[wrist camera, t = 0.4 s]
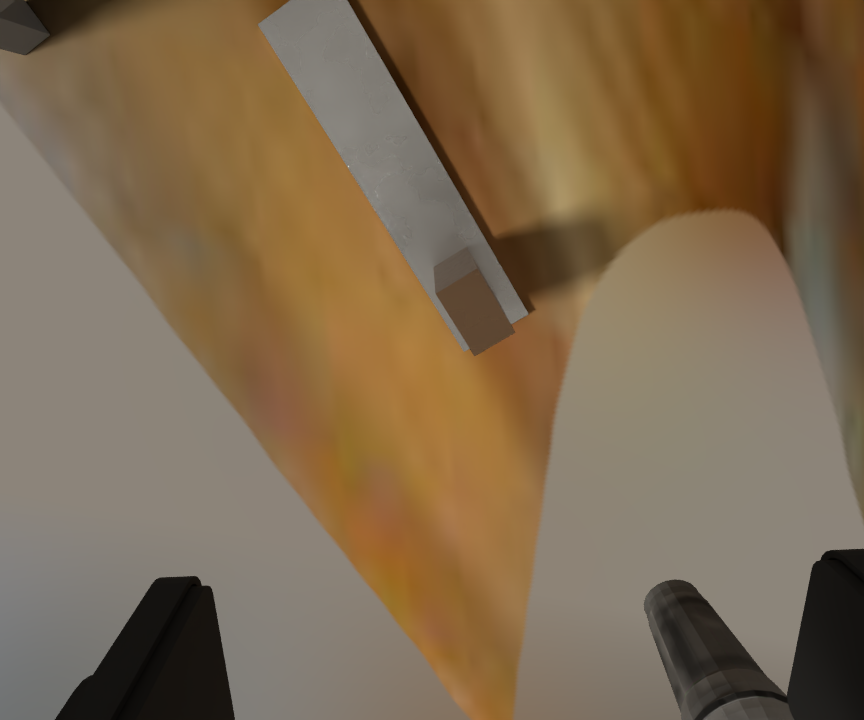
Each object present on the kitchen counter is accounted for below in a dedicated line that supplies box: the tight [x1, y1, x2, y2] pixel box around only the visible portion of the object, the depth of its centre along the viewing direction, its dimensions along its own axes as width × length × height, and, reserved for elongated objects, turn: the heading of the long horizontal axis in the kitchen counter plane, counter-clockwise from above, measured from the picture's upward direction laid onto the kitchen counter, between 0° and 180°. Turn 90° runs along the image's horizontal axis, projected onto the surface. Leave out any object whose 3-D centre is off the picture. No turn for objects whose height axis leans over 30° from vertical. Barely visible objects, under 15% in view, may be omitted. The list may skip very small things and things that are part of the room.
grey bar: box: [258, 0, 528, 356], centre depth 32 cm, size 5×23×9 cm, turn 32°
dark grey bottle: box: [644, 580, 794, 720], centre depth 38 cm, size 7×7×20 cm
